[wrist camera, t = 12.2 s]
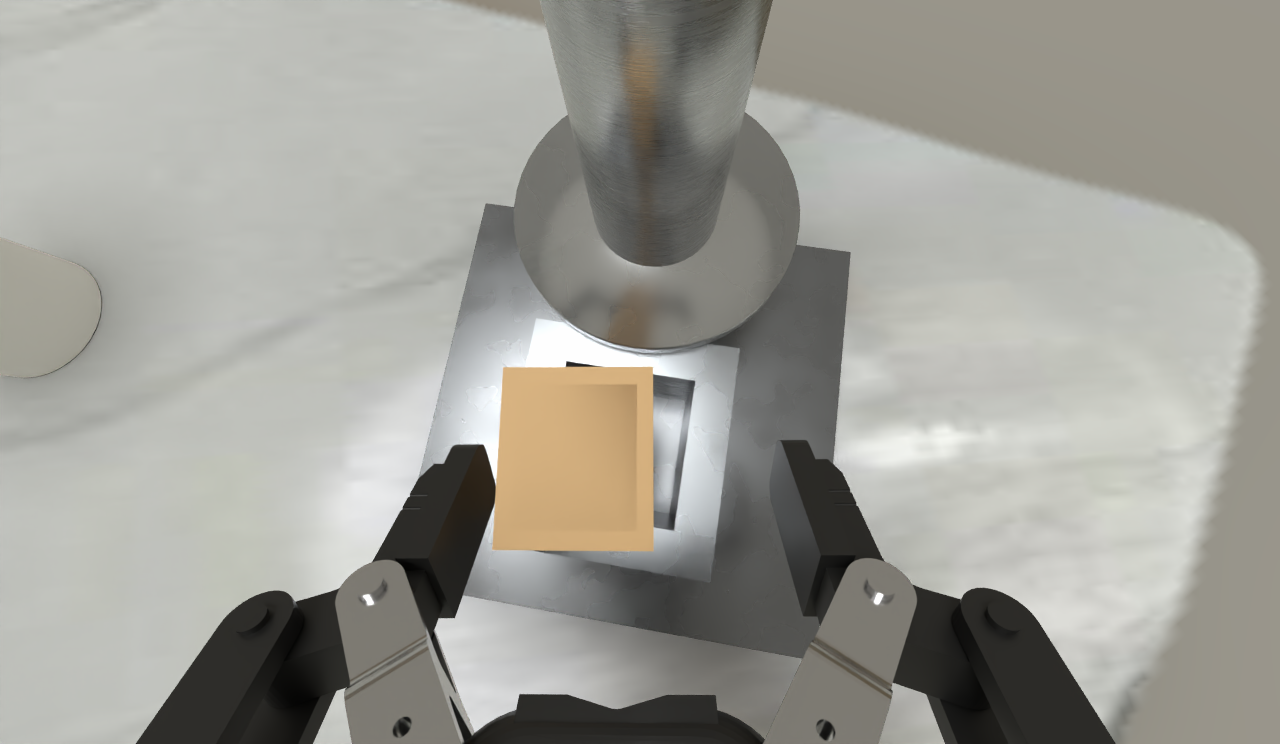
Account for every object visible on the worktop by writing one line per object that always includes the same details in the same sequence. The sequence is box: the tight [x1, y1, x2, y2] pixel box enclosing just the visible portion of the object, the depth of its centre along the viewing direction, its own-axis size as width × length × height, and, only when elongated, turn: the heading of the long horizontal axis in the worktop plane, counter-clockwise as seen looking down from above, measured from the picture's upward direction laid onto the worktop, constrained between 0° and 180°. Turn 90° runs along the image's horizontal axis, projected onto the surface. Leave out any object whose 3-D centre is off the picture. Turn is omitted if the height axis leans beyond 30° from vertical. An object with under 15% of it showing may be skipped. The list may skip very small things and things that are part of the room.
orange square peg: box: [492, 367, 654, 551], centre depth 17 cm, size 4×4×12 cm
